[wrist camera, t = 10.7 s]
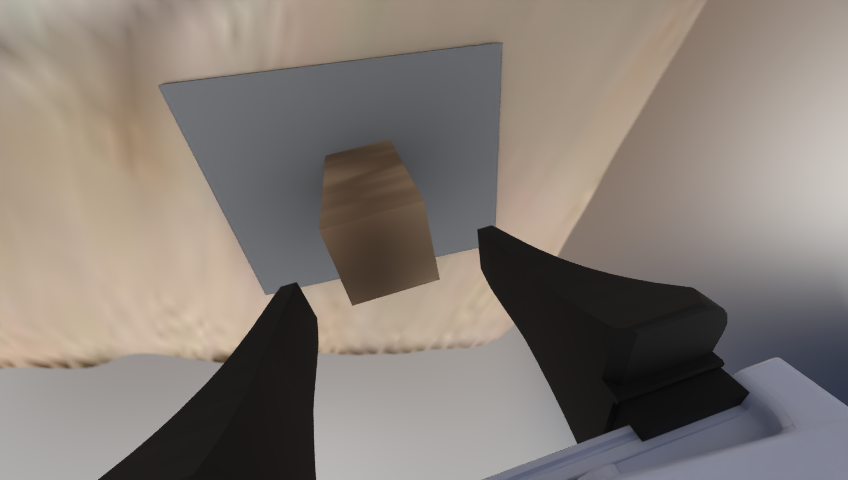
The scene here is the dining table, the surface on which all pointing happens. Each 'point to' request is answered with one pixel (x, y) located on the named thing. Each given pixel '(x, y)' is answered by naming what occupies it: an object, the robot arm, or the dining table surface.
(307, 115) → the rubber mat
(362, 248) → the walnut block
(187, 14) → the dining table surface
